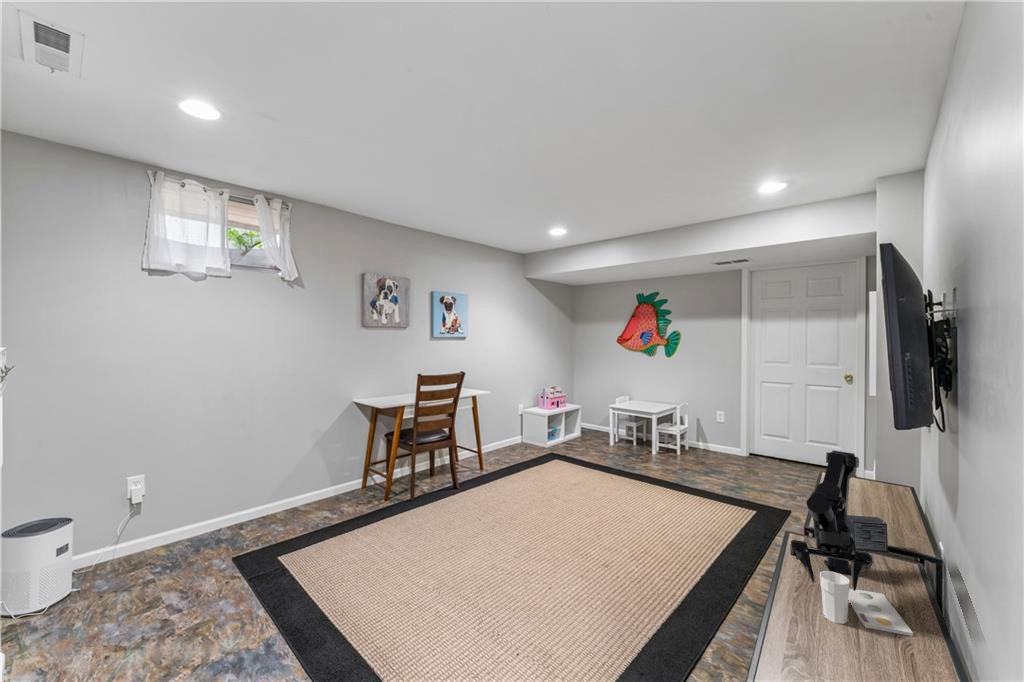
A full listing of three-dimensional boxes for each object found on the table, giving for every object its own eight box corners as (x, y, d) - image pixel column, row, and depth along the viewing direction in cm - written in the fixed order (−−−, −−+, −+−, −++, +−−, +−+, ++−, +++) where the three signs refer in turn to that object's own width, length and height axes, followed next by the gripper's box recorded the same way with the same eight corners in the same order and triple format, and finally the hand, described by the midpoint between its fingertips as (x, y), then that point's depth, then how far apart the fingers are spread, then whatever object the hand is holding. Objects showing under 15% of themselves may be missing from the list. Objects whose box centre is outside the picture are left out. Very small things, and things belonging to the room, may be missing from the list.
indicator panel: (841, 589, 130) (841, 586, 130) (882, 596, 126) (882, 593, 126) (865, 627, 113) (865, 623, 113) (913, 636, 109) (913, 632, 109)
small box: (878, 544, 157) (878, 516, 157) (889, 553, 150) (888, 523, 150) (844, 541, 160) (844, 513, 160) (853, 550, 153) (853, 521, 153)
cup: (821, 607, 122) (820, 568, 122) (850, 616, 118) (850, 576, 118) (819, 619, 117) (818, 578, 117) (850, 629, 112) (849, 587, 112)
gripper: (790, 512, 127) (795, 567, 117) (870, 524, 118) (883, 584, 108) (788, 528, 134) (792, 581, 124) (863, 540, 125) (874, 598, 115)
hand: (833, 586), depth 118 cm, fingers open, 9 cm apart
